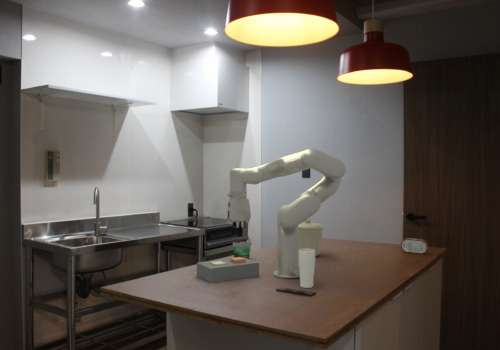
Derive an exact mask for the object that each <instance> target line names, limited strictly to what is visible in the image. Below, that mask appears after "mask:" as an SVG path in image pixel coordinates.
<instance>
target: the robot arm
mask: <svg viewBox="0 0 500 350" xmlns="http://www.w3.org/2000/svg"><path fill="white" fill-rule="evenodd" d="M310 169H312V170H314V171H316V172H318V173H320V174H322V175H323V177H322V178H321V180H320V181H318V182H317V183H315V185H313V186H312V187H310V188H308V189H307V190H306V191H304V192H302V193H300V195H299V196H298V197H297V199H295V200H294V201H293V202H291V203H290V204H285V205H282V206H280V207H279V209H278V210H277V213H276V226H277V227H276V229H277V231H276V233H277V235H276V236H277V237H276V255H277V256H276V270H275V271H273V276H274V277H275V278H276V277H277V278H282V279H297V278H300V273H299V256H298V225H299V224H301V223H302V222H305V220H307V219H308V218H310V219H311V217H312V216H314V215H315V214H317V213H318V211H319V210H320V208H321V206H322V204H323V203H324V202H326V201H327V200H328V199H330V198H331V197H333V196H334V195H335V194H336V193H337V191H338V190H339V188H340V186H341V182H342V178H343V176H345V175H346V171H347V169H346V165H345V163H344V162H343V161H342V160H340V159H338V158H337V157H334V156H332V155H329V154H327V153H325V152H322V150H319V149H316V148H313V147H311V148H307V149H304V150H302V151H298V152H295V153H292V154H289V155H284V156H283V157H280V158H277V159H276V160H273V161H270V162H267V163H265V164H262V165H258V166H254V167H251V168H239V167H238V168H237V167H236V168H231V169H230V170H229V192H228V193H227V197H229V199H228V202H227V207H226V208H227V211H226V216H227V217H226V218H227V224H228V225H232V226H233V227H234V234H235V237H237V238H241V237H243V231H244V230H243V228H244V226H245V224H247V223H248V224H249V223H250V220H251V217H252V215H251V206H250V205H251V204H250V201H249V198H248V197H247V196H248V195H247V184H249V185H259V184H261V183H263V182H266V181H270V180H273V179H276V178H282V177H286V176H291V175H293V174H296V173H300V172H303V171H306V170H310Z"/></svg>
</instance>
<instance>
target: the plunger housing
mask: <svg viewBox="0 0 500 350" xmlns="http://www.w3.org/2000/svg"><path fill="white" fill-rule="evenodd" d="M242 258H244V257H242ZM244 259H246V262H243V263H233V262H230V258H225V259H218V260H208V261H199V262H196V277H198V278H199V279H202V280H204V281H207V283H209V284H212V283H213V284H214V283H220V281H221V282H226V281H227V280H228V281H234V280H242V279H247V278H248V279H249V278H257V277H259V276H260V262H258V261H256V260H253V259H250V258H249V259H247V258H244ZM217 261H222V262H224V263H226V265H218V266H214V265H212V264H210V262H217ZM228 281H227V282H228Z"/></svg>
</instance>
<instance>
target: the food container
mask: <svg viewBox="0 0 500 350" xmlns="http://www.w3.org/2000/svg"><path fill="white" fill-rule="evenodd" d="M251 246H252V241H251V240H250V239H246V241H239V242H235V241H233V242H232V248H233V258H235V257H241V258H242V257H244V258H247V259H250V256H251V255H250V254H251Z"/></svg>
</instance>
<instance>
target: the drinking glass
mask: <svg viewBox="0 0 500 350" xmlns="http://www.w3.org/2000/svg"><path fill="white" fill-rule="evenodd" d="M315 264H316V256H315V250H314V249H299V256H298V266H299V273H300V277H299V286H300V287H301V288H304V289H311V288H313V287H314V278H315V277H314V276H315V267H316V265H315Z"/></svg>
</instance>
